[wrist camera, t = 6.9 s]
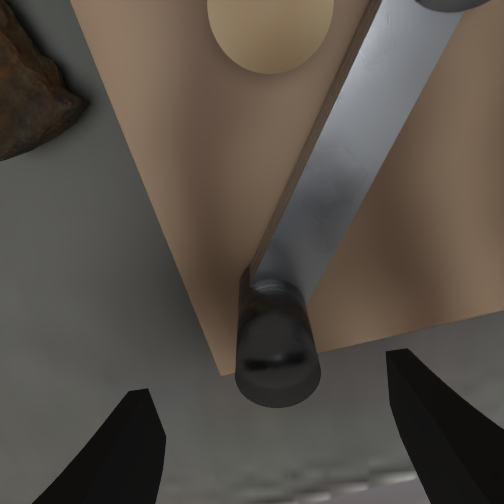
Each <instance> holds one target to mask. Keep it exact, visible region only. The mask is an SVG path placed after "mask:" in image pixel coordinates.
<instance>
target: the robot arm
mask: <svg viewBox="0 0 504 504" xmlns="http://www.w3.org/2000/svg"><path fill="white" fill-rule="evenodd" d="M386 362H387V375H388V387H389V400H390V406H391V409H392V413H393V416H394V419H395V422H396V425H397V428H398V431H399V434H400V437H401V439H402V441H403V444H404V446H405V448H406V450H407V453H408V455H409V457H410V459H411V461H412V464H413V466H414V468H415V470H416V472H417V474H418V477H419V479H420V481H421V483H422V485H423V487H424V490H425V492H426V494H427V496H428V498H429V501H430V503H431V504H504V429H502V428H501V427H500V426H498V425H497V424H495V423H494V422H493V421H491V420H490V419H489V418H487V417H486V416H485V415H483V414H482V413H481V412H479V411H478V410H477V409H475V408H474V407H473V406H472V405H470V404H469V403H468V402H467V401H465V400H464V399H463V398H462V397H461V396H459V395H458V394H457V393H456V392H455V391H453V390H452V389H451V388H450V387H449V386H448V385H446V384H445V383H444V382H443V381H442V380H441V379H440V378H439V377H437V376H436V375H435V374H434V373H433V372H432V371H431V370H430V369H429V368H428V367H427V366H426V365H424V364H423V363H422V362H421V361H420V360H419V359H418V358H417V357H416V356H415V355H414V354H413V353H412V352H411V351H410V350H409V349H407V348H406V349H399V350H393V351H386ZM165 445H166V435H165V432H164V429H163V427H162V424H161V422H160V419H159V416H158V414H157V411H156V408H155V406H154V403H153V400H152V398H151V395H150V393H149V390H148V388H147V389H141V390H134V391H129V392H128V393H127V394H126V395H125V397H124V398H123V399H122V400H121V402H120V403H119V404H118V405H117V407H116V408H115V409H114V410H113V412H112V413H111V414H110V416H109V417H108V418H107V419H106V421H105V422H104V423H103V424H102V426H101V427H100V428H99V429H98V431H97V432H96V433H95V434H94V436H93V437H92V438H91V439H90V440H89V442H88V443H87V444H86V445H85V447H84V448H83V449H82V450H81V451H80V452H79V454H78V455H77V456H76V457H75V458H74V459H73V460H72V462H71V463H70V464H69V465H68V466H67V467H66V468H65V469H64V471H63V472H62V473H61V474H60V475H59V476H58V477H57V478H56V480H55V481H54V482H53V483H52V484H51V485H50V486H49V487H48V488H47V489H46V490H45V491H44V492H43V493H42V494H41V495H40V496H39V497H38V498H37V499H36V500H35V501H34V502H33V503H32V504H155V502H156V498H157V494H158V489H159V485H160V481H161V476H162V471H163V464H164V456H165Z"/></svg>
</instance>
